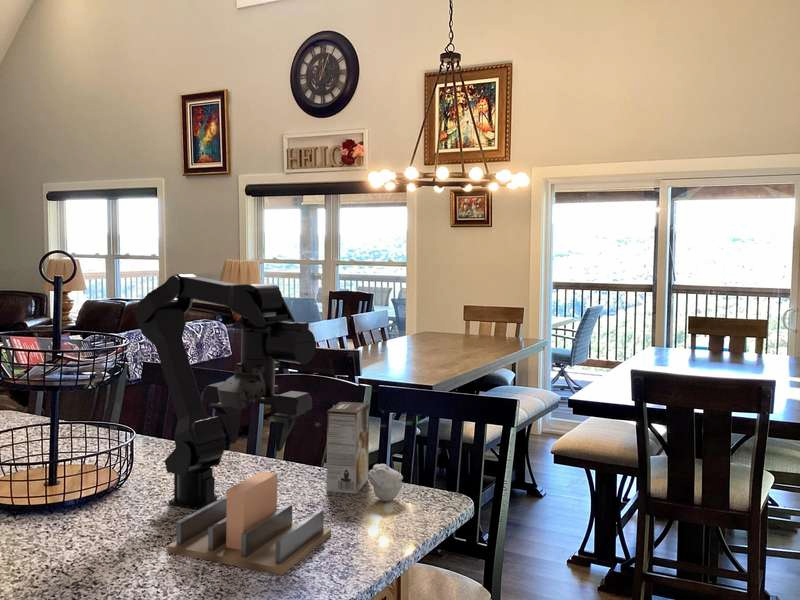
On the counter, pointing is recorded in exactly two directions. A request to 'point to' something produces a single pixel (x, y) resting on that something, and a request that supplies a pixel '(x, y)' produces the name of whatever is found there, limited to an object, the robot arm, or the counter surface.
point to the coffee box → (347, 447)
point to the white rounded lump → (385, 482)
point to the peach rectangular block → (249, 505)
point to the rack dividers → (251, 530)
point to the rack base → (257, 560)
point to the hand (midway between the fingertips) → (255, 447)
